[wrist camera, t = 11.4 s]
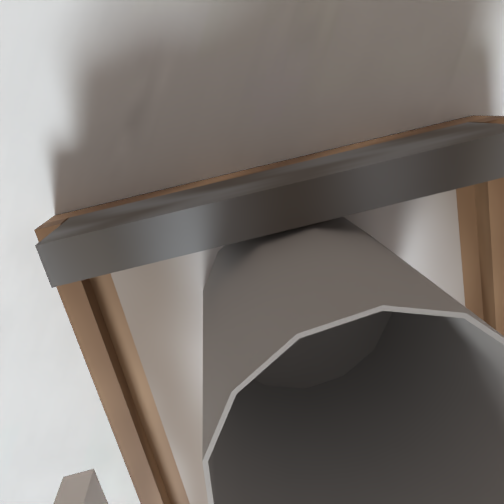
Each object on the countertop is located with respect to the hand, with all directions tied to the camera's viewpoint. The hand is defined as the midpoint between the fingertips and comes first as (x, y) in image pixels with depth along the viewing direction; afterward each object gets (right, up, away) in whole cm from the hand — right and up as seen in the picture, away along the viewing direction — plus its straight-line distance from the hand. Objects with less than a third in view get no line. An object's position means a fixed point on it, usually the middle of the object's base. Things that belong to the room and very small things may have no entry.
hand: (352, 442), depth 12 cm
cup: (-1, +3, +8) cm, 9 cm away
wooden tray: (0, 0, +11) cm, 11 cm away
